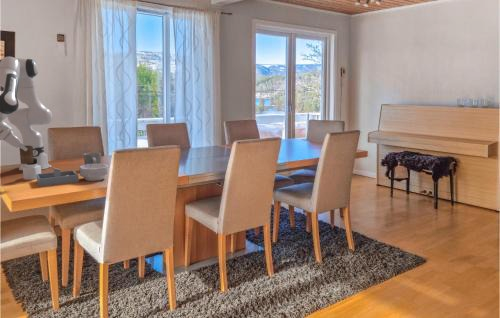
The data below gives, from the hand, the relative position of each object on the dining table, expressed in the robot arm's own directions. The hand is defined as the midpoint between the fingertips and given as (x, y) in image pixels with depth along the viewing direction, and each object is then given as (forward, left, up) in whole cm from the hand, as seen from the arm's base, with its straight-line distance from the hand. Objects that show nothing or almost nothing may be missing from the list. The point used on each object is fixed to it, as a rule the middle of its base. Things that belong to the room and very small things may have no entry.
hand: (26, 149), depth 224 cm
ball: (0, +19, -18) cm, 26 cm away
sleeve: (0, 0, -7) cm, 7 cm away
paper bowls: (+3, +33, -20) cm, 39 cm away
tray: (0, +14, -20) cm, 24 cm away
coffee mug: (-26, +38, -20) cm, 50 cm away
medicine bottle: (-18, +3, -20) cm, 27 cm away
